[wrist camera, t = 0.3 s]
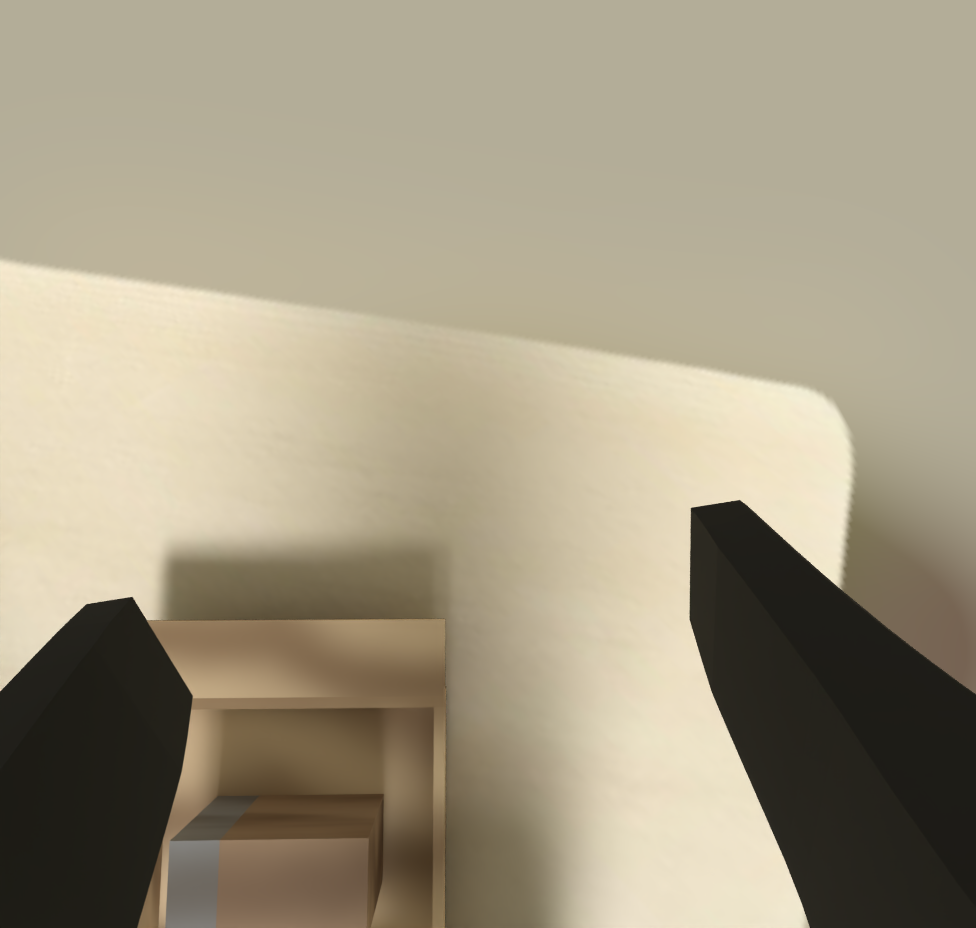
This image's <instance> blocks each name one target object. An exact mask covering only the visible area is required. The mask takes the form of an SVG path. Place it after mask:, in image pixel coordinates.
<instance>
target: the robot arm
mask: <svg viewBox="0 0 976 928" xmlns="http://www.w3.org/2000/svg"><path fill="white" fill-rule="evenodd" d="M690 622H691V625H692V629H693V632H694V636H695V639H696V642H697V646H698V649H699V652H700V656H701V659H702V662H703V665H704V669H705V672H706V675H707V678H708V681H709V685H710V688H711V691H712V694H713V696H714V698H715V701H716V703H717V705H718V708H719V710H720V712H721V715H722V717H723V719H724V722H725V724H726V726H727V729H728V731H729V733H730V736H731V738H732V740H733V743H734V745H735V747H736V749H737V752H738V754H739V756H740V759H741V761H742V763H743V765H744V768H745V770H746V772H747V775H748V777H749V779H750V781H751V784H752V786H753V788H754V791H755V793H756V795H757V797H758V800H759V802H760V804H761V807H762V809H763V811H764V813H765V816H766V818H767V820H768V823H769V825H770V827H771V830H772V832H773V834H774V836H775V839H776V841H777V843H778V846H779V848H780V850H781V852H782V855H783V857H784V859H785V862H786V864H787V867H788V869H789V872H790V874H791V877H792V879H793V882H794V884H795V887H796V890H797V892H798V895H799V897H800V900H801V902H802V905H803V908H804V911H805V914H806V917H807V920H808V923H809V926H810V928H976V694H975V693H973V692H972V691H970V690H969V689H968V688H966V687H965V686H963V685H962V684H961V683H959V682H958V681H957V680H955V679H954V678H952V677H951V676H950V675H949V674H947V673H946V672H944V671H943V670H942V669H940V668H939V667H938V666H936V665H935V664H934V663H932V662H931V661H930V660H928V659H927V658H926V657H924V656H923V655H922V654H920V653H919V652H918V651H916V650H915V649H914V648H912V647H911V646H910V645H909V644H907V643H906V642H905V641H904V640H902V639H901V638H900V637H898V636H897V635H896V634H895V633H893V632H892V631H891V630H890V629H888V628H887V627H886V626H885V625H883V624H882V623H881V622H880V621H878V620H877V619H876V618H875V617H873V616H872V615H871V614H870V613H869V612H868V611H866V610H865V609H864V608H863V607H861V606H860V605H859V604H858V603H857V602H855V601H854V600H853V599H852V598H850V597H849V596H848V595H847V594H846V593H844V592H843V591H842V590H841V589H840V588H838V587H837V586H836V585H835V584H834V583H833V582H831V581H830V580H829V579H828V578H827V577H826V576H824V575H823V574H822V573H821V572H820V571H819V570H818V569H816V568H815V567H814V566H813V565H812V564H811V563H810V562H809V561H807V560H806V559H805V558H804V557H803V556H802V555H801V554H800V553H798V552H797V551H796V550H795V549H794V548H793V547H792V546H791V545H790V544H788V543H787V542H786V541H785V540H784V539H783V538H782V537H781V536H780V535H779V534H777V533H776V532H775V531H774V530H773V529H772V528H771V527H770V526H769V525H768V524H767V523H765V522H764V521H763V520H762V519H761V518H760V517H759V516H758V515H757V514H756V513H755V512H754V511H752V510H751V509H750V508H749V507H748V506H747V505H746V504H744V503H743V502H741V501H740V500H737V501H731V502H725V503H719V504H712V505H706V506H700V507H693V508H691V549H690ZM192 700H193V695H192V693H191V692H190V690H189V689H188V687H187V685H186V684H185V682H184V680H183V679H182V677H181V676H180V674H179V672H178V671H177V669H176V667H175V666H174V664H173V662H172V661H171V659H170V658H169V656H168V654H167V653H166V651H165V649H164V648H163V646H162V645H161V643H160V641H159V640H158V638H157V636H156V635H155V633H154V631H153V630H152V628H151V627H150V625H149V623H148V622H147V620H146V618H145V617H144V615H143V614H142V612H141V610H140V609H139V607H138V605H137V604H136V602H135V600H134V599H133V597H129V598H123V599H116V600H110V601H104V602H98V603H91V604H86V605H85V606H84V607H83V608H82V609H81V610H80V611H79V612H78V613H77V614H76V615H75V616H74V617H72V618H71V619H70V620H69V621H68V622H67V623H66V624H65V625H64V626H63V627H62V628H61V629H60V630H59V631H58V632H57V633H56V634H55V635H54V636H53V637H52V638H51V639H50V640H49V641H48V642H47V644H46V645H45V646H44V647H43V648H42V649H41V650H40V651H39V652H38V653H37V654H36V655H35V656H34V657H33V658H32V659H31V660H30V661H29V662H28V663H27V664H26V665H25V666H24V667H23V668H22V669H21V671H20V672H19V673H18V674H17V675H16V676H15V677H14V678H13V679H12V680H11V681H10V682H9V683H8V684H7V685H6V686H5V687H4V688H3V689H2V690H1V691H0V928H137V927H138V924H139V920H140V917H141V913H142V910H143V906H144V903H145V900H146V896H147V893H148V889H149V886H150V882H151V879H152V876H153V872H154V869H155V865H156V862H157V858H158V855H159V852H160V848H161V845H162V841H163V838H164V834H165V831H166V827H167V824H168V820H169V817H170V813H171V809H172V806H173V802H174V799H175V795H176V792H177V788H178V784H179V780H180V777H181V773H182V768H183V762H184V756H185V750H186V744H187V738H188V730H189V723H190V715H191V707H192Z"/></svg>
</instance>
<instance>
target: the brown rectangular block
mask: <svg viewBox="0 0 976 928" xmlns="http://www.w3.org/2000/svg"><path fill="white" fill-rule="evenodd" d="M383 813H384V794H337V795H259V796H217V797H216V798H215V799H214V800H213V801H212V802H211V803H210V804H209V805H208V806H206V807H205V808H204V809H203V810H202V811H201V812H200V813H199V814H198V815H197V816H196V817H195V818H194V819H193V820H192V821H190V822H189V823H188V824H187V825H186V826H185V827H184V828H183V829H182V830H181V831H180V832H179V833H178V834H177V835H176V836H175V837H173V838H172V839H171V840H170V844H169V863H168V883H167V902H166V922H165V928H371V925H372V921H373V917H374V913H375V909H376V905H377V901H378V897H379V893H380V889H381V885H382V879H383Z"/></svg>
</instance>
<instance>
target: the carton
mask: <svg viewBox="0 0 976 928" xmlns="http://www.w3.org/2000/svg"><path fill="white" fill-rule="evenodd" d="M147 622H148V623H149V625H150V627H151V628H152V630H153V631H154V633H155V635H156V636H157V638H158V640H159V641H160V643H161V645H162V646H163V648H164V649H165V651H166V653H167V654H168V656H169V658H170V659H171V661H172V662H173V664H174V666H175V667H176V669H177V671H178V672H179V674H180V676H181V677H182V679H183V680H184V682H185V684H186V685H187V687H188V689H189V690H190V692H191V693H192V695H193V700H192V707H191V715H190V723H189V730H188V738H187V744H186V750H185V756H184V762H183V768H182V773H181V777H180V780H179V784H178V788H177V792H176V795H175V799H174V802H173V806H172V809H171V813H170V817H169V820H168V824H167V827H166V831H165V834H164V838H163V841H162V845H161V848H160V852H159V855H158V858H157V862H156V865H155V869H154V872H153V876H152V879H151V882H150V886H149V889H148V893H147V896H146V900H145V903H144V906H143V910H142V913H141V917H140V920H139V924H138V927H137V928H165V922H166V902H167V883H168V863H169V844H170V840H171V839H172V838H173V837H175V836H176V835H177V834H178V833H179V832H180V831H181V830H182V829H183V828H184V827H185V826H186V825H187V824H188V823H189V822H190V821H192V820H193V819H194V818H195V817H196V816H197V815H198V814H199V813H200V812H201V811H202V810H203V809H204V808H205V807H206V806H208V805H209V804H210V803H211V802H212V801H213V800H214V799H215V798H216V797H217V796H259V795H337V794H384V813H383V879H382V885H381V889H380V893H379V897H378V901H377V905H376V909H375V913H374V917H373V921H372V925H371V928H445V833H446V686H445V619H332V620H147Z"/></svg>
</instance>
